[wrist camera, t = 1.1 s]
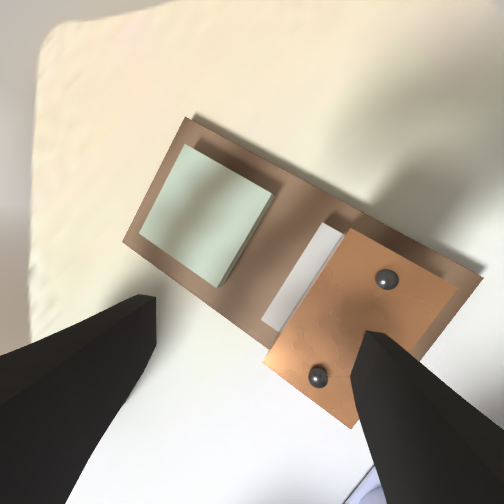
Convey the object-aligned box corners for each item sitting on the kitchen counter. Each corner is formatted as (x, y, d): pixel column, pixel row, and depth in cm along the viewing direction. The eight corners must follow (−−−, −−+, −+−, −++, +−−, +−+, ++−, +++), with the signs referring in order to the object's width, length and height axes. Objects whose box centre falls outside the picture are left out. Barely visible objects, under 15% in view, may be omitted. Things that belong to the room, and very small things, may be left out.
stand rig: (476, 276, 16) (496, 280, 15) (369, 416, 18) (374, 436, 16) (189, 121, 22) (177, 108, 20) (128, 242, 24) (111, 241, 22)
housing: (416, 275, 16) (461, 288, 10) (342, 377, 17) (351, 433, 12) (342, 233, 17) (351, 227, 12) (278, 332, 18) (261, 365, 13)
